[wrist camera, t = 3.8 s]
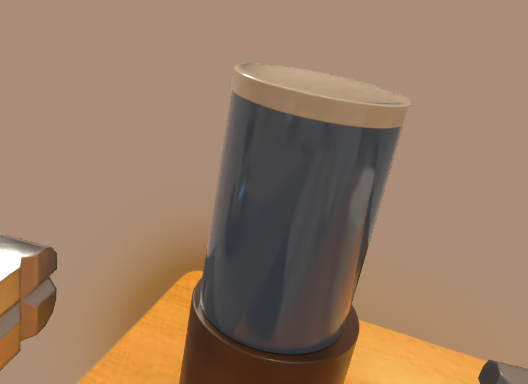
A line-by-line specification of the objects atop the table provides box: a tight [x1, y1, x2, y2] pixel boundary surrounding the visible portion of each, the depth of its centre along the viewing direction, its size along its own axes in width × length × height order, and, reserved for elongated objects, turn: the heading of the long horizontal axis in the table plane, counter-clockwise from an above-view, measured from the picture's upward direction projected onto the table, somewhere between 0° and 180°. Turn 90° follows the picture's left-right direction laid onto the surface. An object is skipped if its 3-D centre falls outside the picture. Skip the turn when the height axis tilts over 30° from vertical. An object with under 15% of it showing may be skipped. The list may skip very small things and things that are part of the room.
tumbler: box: [200, 63, 411, 355], centre depth 20 cm, size 7×7×10 cm
